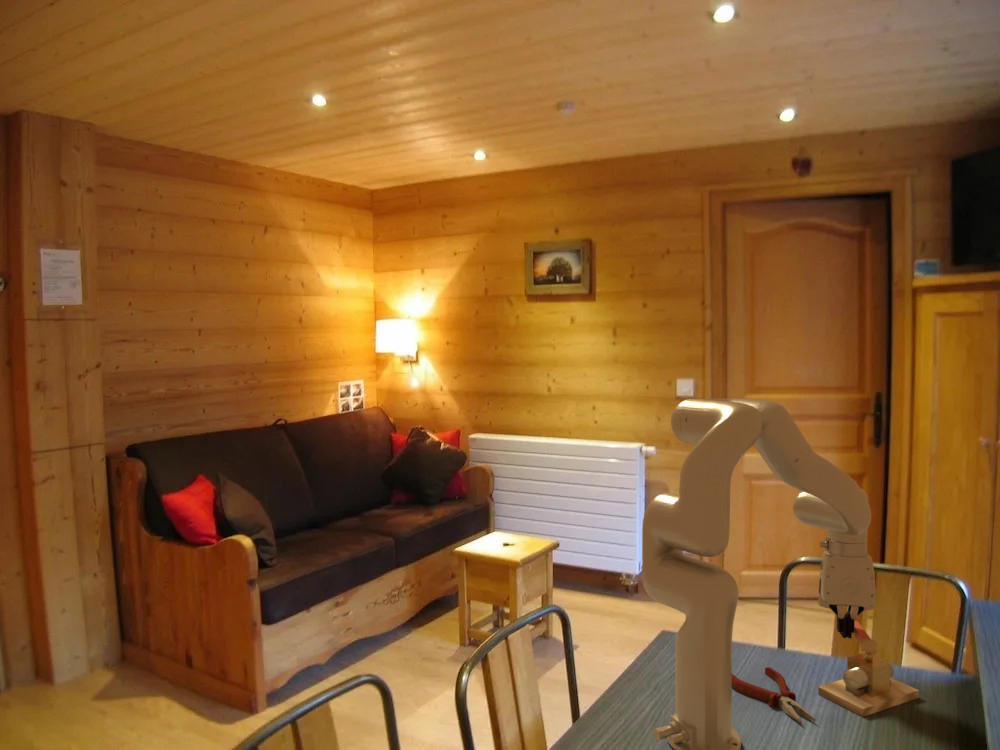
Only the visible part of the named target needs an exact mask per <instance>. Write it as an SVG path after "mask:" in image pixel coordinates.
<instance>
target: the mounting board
mask: <svg viewBox="0 0 1000 750" xmlns="http://www.w3.org/2000/svg"><path fill="white" fill-rule="evenodd" d="M890 680H891V687H890V692H887V693H884V694H881V695H878V696H875V697H871V696H869V695H866V694H865V695H863V696H860V697H858V696H856V695H854V694H852V693H850V692H848V691H846V684H845V682H844V680H843V678H842V679H839V680H836V681H832V682H829V683H825V684H822V685H820V686H818V689H817V690H818V695H819V696H822V697H823V698H826V699H827V700H829V701H831V702H833V703H835V704H837V705H839V706H841V707H843V708H845V709H846V710H848V711H851V712H852V713H854V714H856V715H858V716H861V717H862V718H863V717H867V716H870V715H872V714H876V713H878V712H881V711H884V710H886V709H890V708H893V707H895V706H899V705H901V704H905V703H908V702H910V701H914V700H917V699H919V698H920V697H919V695H920V690H919V689H917V688H914V687H912V686H911V685H908V684H906V683H904V682H901V681H899V680H896V679H894V678H893V677H892V678H890Z"/></svg>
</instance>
